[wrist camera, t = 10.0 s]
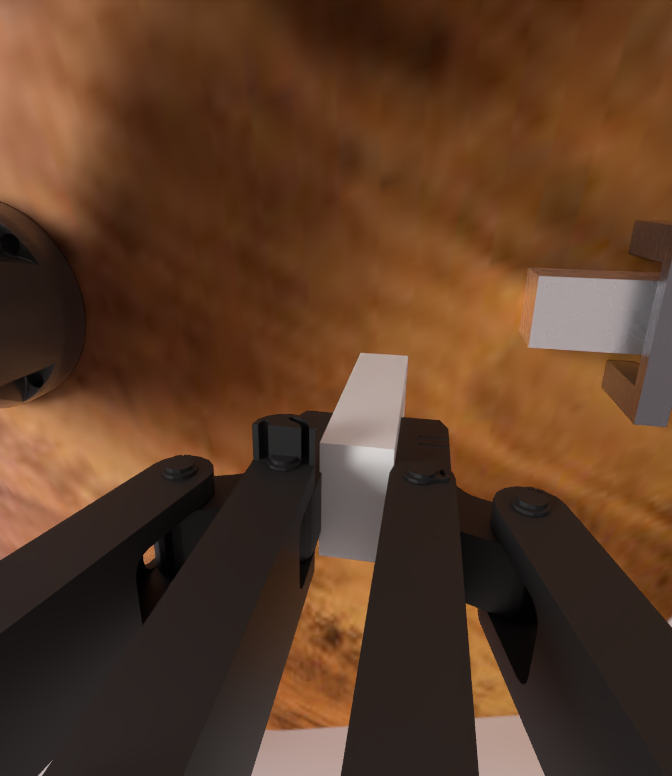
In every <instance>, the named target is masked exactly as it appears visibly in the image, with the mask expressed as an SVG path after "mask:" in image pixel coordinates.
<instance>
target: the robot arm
mask: <svg viewBox="0 0 672 776" xmlns="http://www.w3.org/2000/svg"><path fill="white" fill-rule="evenodd" d="M84 336H85V314H84V306H83V301H82V297H81V293H80V290H79V287H78V284H77V281H76V279H75V276H74V274H73V272H72V270H71V268H70V266H69V264H68V262H67V261H66V259H65V257H64V256H63V254H62V253H61V251H60V250H59V248H58V247H57V246H56V244H55V243H54V242H53V241H52V240H51V238H50V237H49V236H48V235H47V234H46V233H45V232H44V231H43V230H42V229H41V228H40V227H39V226H38V225H37V224H36V223H34V222H33V221H32V220H31V219H29V218H28V217H27V216H25V215H24V214H22V213H21V212H19V211H17V210H16V209H14V208H12V207H10V206H8V205H6V204H3V203H1V202H0V408H9V407H14V406H18V405H21V404H24V403H27V402H29V401H32V400H34V399H36V398H38V397H40V396H42V395H44V394H46V393H48V392H50V391H52V390H53V389H55V388H56V387H58V386H59V385H60V384H62V383H63V382H64V381H65V380H66V379H67V377H68V376H69V375H70V374H71V372H72V371H73V369H74V368H75V366H76V364H77V362H78V360H79V357H80V354H81V351H82V348H83V343H84ZM407 368H408V356H402V355H387V354H371V353H360V355H359V357H358V360H357V362H356V364H355V366H354V368H353V371H352V373H351V375H350V377H349V379H348V382H347V384H346V386H345V388H344V390H343V393H342V395H341V397H340V399H339V402H338V404H337V406H336V408H335V410H334V413H329V412H317V411H306V412H304V413H302V414H300V415H293V414H277V415H270V416H266V417H263V418H260V419H258V420H257V421H255V422H254V423H253V424H252V431H253V457H254V460H253V461H252V463H251V464H250V466H249V467H248V469H247V470H246V472H245V473H243V474H235V475H223V476H214V469H213V464H212V463H211V462H210V461H209V460H207V459H205V458H202V457H198V456H191V455H184V456H182V455H177V456H174V457H172V458H167V459H164V460H162V461H160V462H157V463H155V464H153V465H152V466H150V467H149V468H147V469H145V470H144V471H142V472H141V473H139V474H137V475H136V476H134V477H133V478H131V479H129V480H128V481H126V482H125V483H123V484H121V485H120V486H118V487H117V488H115V489H114V490H112V491H110V492H109V493H107V494H106V495H104V496H102V497H101V498H99V499H98V500H96V501H94V502H93V503H91V504H90V505H88V506H86V507H85V508H83V509H82V510H80V511H78V512H77V513H75V514H74V515H72V516H70V517H69V518H67V519H66V520H64V521H62V522H61V523H59V524H58V525H56V526H55V527H53V528H51V529H50V530H48V531H47V532H45V533H43V534H42V535H40V536H39V537H37V538H35V539H34V540H32V541H31V542H29V543H27V544H26V545H24V546H23V547H21V548H19V549H18V550H16V551H15V552H13V553H11V554H10V555H8V556H7V557H5V558H3V559H2V560H0V776H38V775H39V774H40V773H41V772H42V771H43V770H44V768H45V767H46V766H47V765H48V764H49V763H50V762H51V761H52V762H51V764H50V765H49V766H48V768H47V770H46V771H45V772H44V774H43V775H42V776H251V774H252V770H253V767H254V764H255V761H256V757H257V754H258V751H259V748H260V744H261V741H262V738H263V735H264V731H265V728H266V725H267V722H268V719H269V716H270V712H271V709H272V706H273V703H274V699H275V696H276V693H277V690H278V686H279V683H280V680H281V677H282V674H283V670H284V667H285V664H286V661H287V657H288V654H289V651H290V648H291V644H292V641H293V638H294V635H295V631H296V628H297V625H298V622H299V619H300V615H301V612H302V609H303V606H304V602H305V599H306V596H307V593H308V589H309V586H310V583H311V580H312V577H313V573H314V563H315V548H316V545H317V542H318V538H319V555H321V556H329V557H337V558H345V559H353V560H361V561H369V562H375V565H374V571H373V578H372V584H371V590H370V596H369V603H368V609H367V615H366V621H365V628H364V634H363V640H362V646H361V653H360V659H359V665H358V671H357V678H356V684H355V690H354V696H353V703H352V709H351V715H350V721H349V728H348V734H347V741H346V747H345V753H344V759H343V765H342V771H341V776H479V771H478V758H477V745H476V732H475V719H474V706H473V694H472V681H471V668H470V655H469V642H468V629H467V617H466V604H465V603H467V604H469V605H472V606H475V607H477V608H478V617H479V621H480V624H481V626H482V628H483V631H484V633H485V636H486V638H487V640H488V643H489V645H490V647H491V650H492V652H493V654H494V657H495V659H496V661H497V664H498V666H499V668H500V671H501V673H502V675H503V678H504V680H505V683H506V685H507V687H508V690H509V692H510V694H511V697H512V699H513V701H514V704H515V706H516V708H517V711H518V713H519V715H520V718H521V720H522V723H523V725H524V727H525V729H526V732H527V734H528V736H529V739H530V741H531V744H532V746H533V748H534V751H535V753H536V755H537V758H538V760H539V763H540V765H541V767H542V770H543V772H544V774H545V776H672V627H671V626H670V625H669V624H668V623H667V621H666V620H665V619H664V618H663V617H662V616H661V614H660V613H659V612H658V611H657V610H656V609H655V608H654V606H653V605H652V604H651V603H650V602H649V601H648V599H647V598H646V597H645V596H644V595H643V594H642V592H641V591H640V590H639V589H638V588H637V587H636V585H635V584H634V583H633V582H632V581H631V580H630V578H629V577H628V576H627V575H626V574H625V573H624V572H623V570H622V569H621V568H620V567H619V566H618V565H617V563H616V562H615V561H614V560H613V559H612V558H611V556H610V555H609V554H608V553H607V552H606V551H605V549H604V548H603V547H602V546H601V545H600V544H599V542H598V541H597V540H596V539H595V538H594V537H593V536H592V534H591V533H590V532H589V531H588V530H587V529H586V527H585V526H584V525H583V524H582V523H581V522H580V520H579V519H578V518H577V517H576V516H575V515H574V513H573V512H572V511H571V510H570V509H569V508H568V507H567V505H566V504H565V503H563V502H562V501H561V500H560V499H558V498H557V497H556V496H553V495H551V494H549V493H547V492H545V491H543V490H540V489H535V488H533V487H518V486H516V487H509V488H504V489H502V490H500V491H498V492H497V493H496V494H495V496H494V498H493V502H491V501H487V500H484V499H480V498H478V497H475V496H472V495H470V494H468V493H466V492H464V491H463V490H461V489H460V488H459V487H457V486H456V479H455V477H454V474H453V473H452V472H451V463H450V448H449V434H448V428H447V427H446V426H445V425H444V424H443V423H442V422H441V421H440V420H430V419H418V418H406V417H404V412H405V397H406V383H407ZM152 545H154V549H155V557H156V558H154V559H153V560H152V561H151V562H150V563H148V564H146V565H145V564H144V561H143V554H144V553H145V552H146V551H147V550H148V549H149V548H150V547H151V546H152Z"/></svg>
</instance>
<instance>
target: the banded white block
mask: <svg viewBox="0 0 672 776" xmlns="http://www.w3.org/2000/svg"><path fill="white" fill-rule="evenodd" d="M659 276H660V273H657V272H632V271H608V270H583V269H559V268H534V267H528V271H527V278H526V285H525V292H524V300H523V307H522V314H521V321H520V328H519V332H520V334H521V336H522V338H523V339H524V341H525V343H526V344H527V346H528V348H544V349H559V350H575V351H591V352H606V353H622V354H637V355H642V352H643V347H644V343H645V338H646V334H647V329H648V325H649V320H650V316H651V311H652V307H653V303H654V298H655V294H656V289H657V285H658V280H659Z"/></svg>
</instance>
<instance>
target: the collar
mask: <svg viewBox="0 0 672 776" xmlns="http://www.w3.org/2000/svg"><path fill="white" fill-rule="evenodd" d="M629 253H630V254H634V255H637V256H641V257H644V258H648V259H651V260H655V261H658V262H662V267H661V271H660V276H659V280H658V285H657V289H656V294H655V298H654V303H653V307H652V311H651V316H650V320H649V325H648V329H647V334H646V338H645V343H644V347H643V352H642V356H641V360H640V365H638V364H637V363H636V362H631V361H615V360H607V363H606V368H605V373H604V378H603V383H602V388H603V389H604V390H605V392H606V393H607V394H608V395H609V396H610V397H611V398H612V400H613V401H614V402H615V403H616V404H617V405H618V407H619V408H620V409H621V410H622V411H623V412H624V413H625V415H626V416H627V417H628V418H629V419H630V420H631V422H632V423H633V424H635V425H647V426H659V427H667V424H668V420H669V416H670V412H671V408H672V222H666V221H635V224H634V229H633V234H632V239H631V244H630V249H629Z"/></svg>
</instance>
